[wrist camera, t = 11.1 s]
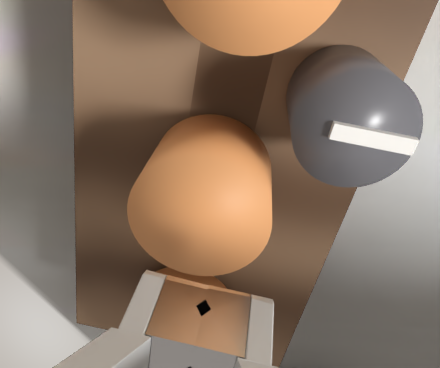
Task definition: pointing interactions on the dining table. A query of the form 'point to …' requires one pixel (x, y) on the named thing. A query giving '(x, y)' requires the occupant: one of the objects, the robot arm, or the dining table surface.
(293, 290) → the mount
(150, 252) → the knob
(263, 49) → the knob
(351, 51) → the dial
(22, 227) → the dining table surface
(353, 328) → the dining table surface
